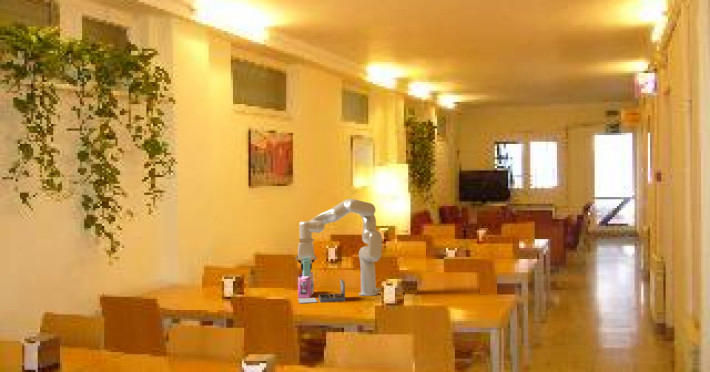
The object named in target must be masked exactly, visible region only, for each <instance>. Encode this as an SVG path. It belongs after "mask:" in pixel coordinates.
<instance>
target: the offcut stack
mask: <svg viewBox="0 0 710 372" xmlns="http://www.w3.org/2000/svg"><path fill="white" fill-rule="evenodd" d="M332 294H333V298H336V297H343V295H341V292H340V293H339V292H336V293H332Z"/></svg>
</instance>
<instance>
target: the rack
mask: <svg viewBox="0 0 710 372" xmlns="http://www.w3.org/2000/svg"><path fill="white" fill-rule="evenodd" d="M339 280H340V294H341V295H343V297H336V298H333V293H330V294H327V293H326V294H318V297H317V298H318V301H319V302H320V303H336V302H338V303H340V302H346V287H345V285H346V284H345V283H346V282H345V281H344V280H343V278H340V279H339Z"/></svg>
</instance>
